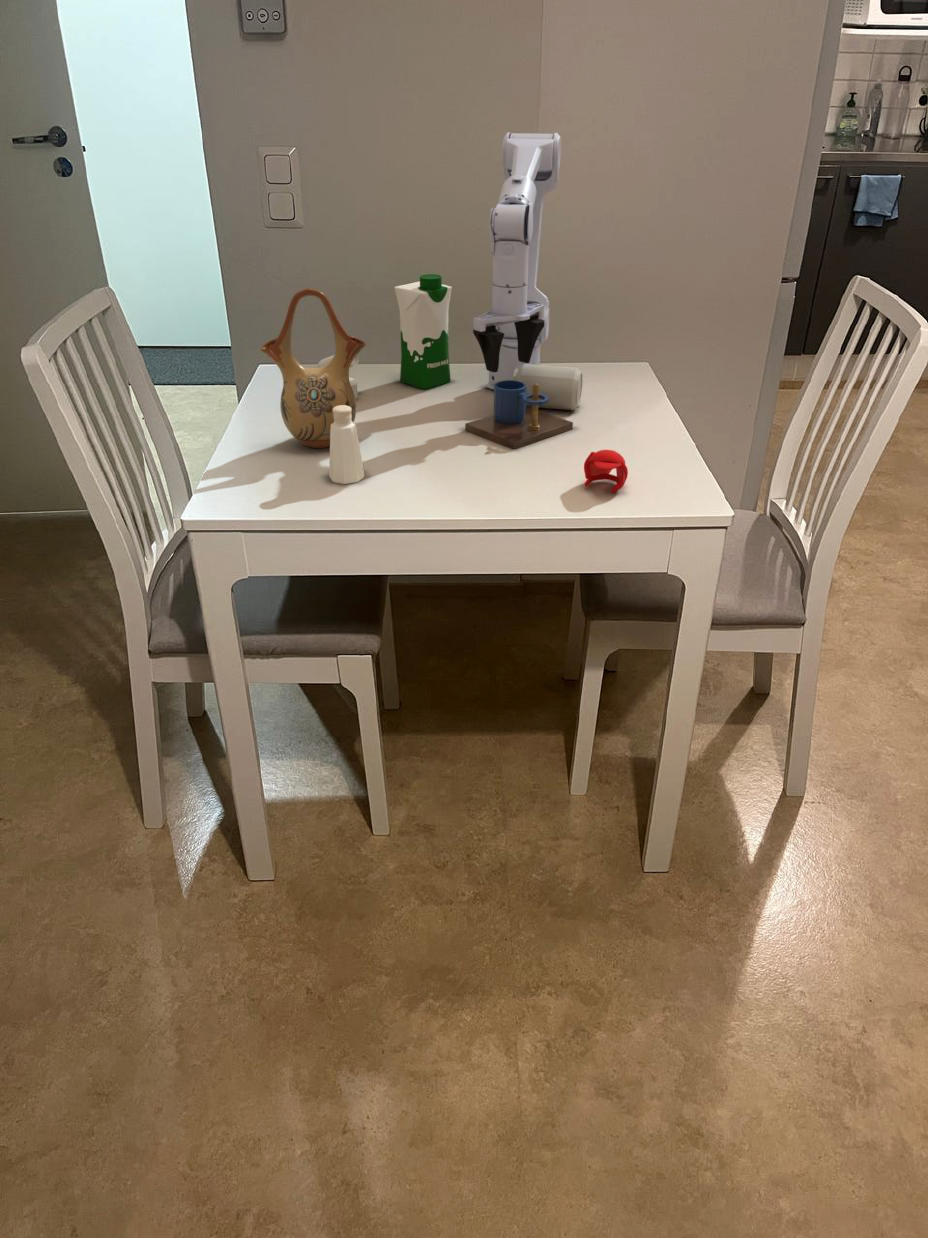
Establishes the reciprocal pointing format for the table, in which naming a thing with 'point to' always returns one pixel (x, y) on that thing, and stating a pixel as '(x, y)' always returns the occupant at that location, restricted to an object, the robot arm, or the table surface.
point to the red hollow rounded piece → (605, 468)
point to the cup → (512, 401)
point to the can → (552, 384)
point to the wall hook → (351, 380)
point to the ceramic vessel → (313, 379)
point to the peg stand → (521, 426)
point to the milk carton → (424, 332)
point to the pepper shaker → (344, 448)
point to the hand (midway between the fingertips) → (508, 366)
